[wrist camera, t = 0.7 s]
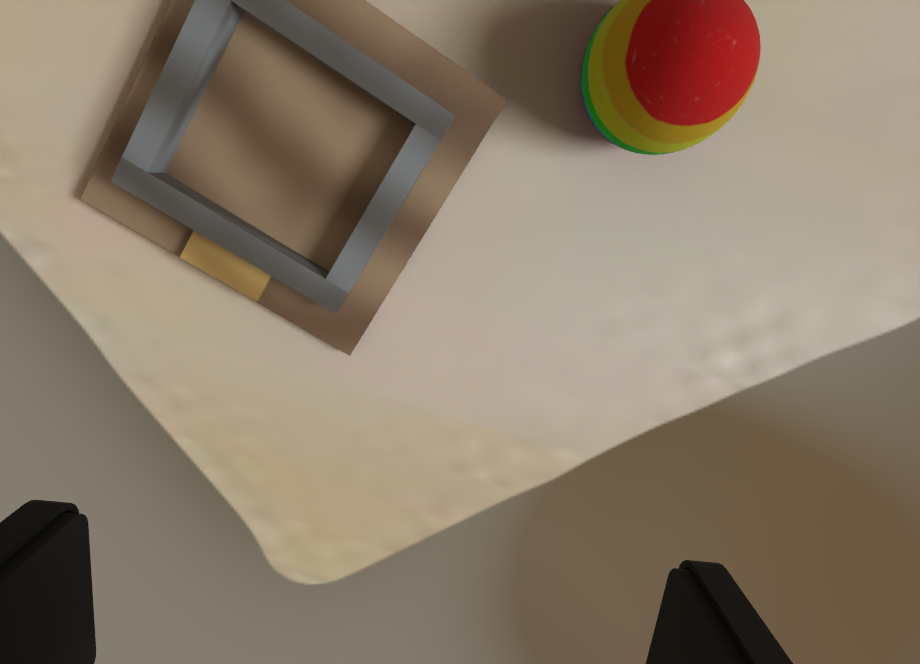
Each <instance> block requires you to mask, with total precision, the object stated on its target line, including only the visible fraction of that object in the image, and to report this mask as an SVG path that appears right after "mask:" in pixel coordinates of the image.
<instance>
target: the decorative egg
mask: <svg viewBox="0 0 920 664" xmlns="http://www.w3.org/2000/svg"><path fill="white" fill-rule="evenodd" d="M760 48H761V47H760V35H759V30H758V27H757V23H756V20H755V18H754V15H753V13H752V11H751V9H750V8H749V7H748V5H747V4H746V3H745V1H744V0H621V1H619V2H618V3H617V4H616V5H615V6H614V7H613V8H612V9H611V10H610V11H609V12H608V13H607V14H606V15H605V17H604V18H603V19H602V21H601V22H600V24H599V25H598V26H597V28H596V29H595V31H594V33H593V35H592V37H591V39H590V41H589V43H588V45H587V48H586V51H585V54H584V57H583V61H582V67H581V77H580V86H581V95H582V99H583V103H584V106H585V110H586V112H587V114H588V116H589V118H590V120H591V122H592V123H593V125H594V126H595V127H596V129H597V130H598V131H599V132H600V133H601V134H602V135H603V136H604V137H605V138H606V139H608V140H609V141H610V142H612V143H613V144H615V145H617V146H619V147H621V148H623V149H625V150H628V151H631V152H635V153H640V154H649V155H657V154H667V153H673V152H676V151H680V150H683V149H686V148H688V147H691V146H693V145H695V144H697V143H699V142H701V141H703V140H705V139H706V138H708V137H709V136H711V135H712V134H714V133H715V132H716V131H717V130H719V129H720V128H721V127H722V126H723V125H724V124H725V123H726V122H727V121H729V120H730V118H731V117H732V116H733V115H734V114H735V113H736V112H737V110H738V109H739V107H740V106H741V105H742V103H743V102H744V100H745V98H746V97H747V95H748V93H749V91H750V89H751V87H752V85H753V82H754V80H755V77H756V74H757V70H758V66H759V60H760Z"/></svg>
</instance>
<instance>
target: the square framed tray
mask: <svg viewBox="0 0 920 664" xmlns="http://www.w3.org/2000/svg"><path fill="white" fill-rule="evenodd" d="M506 101H507V99H506V98H504V97H503V96H501V95H500V94H498V93H497V92H496V91H494V90H493V89H491V88H490V87H488V86H487V85H486V84H484V83H483V82H481V81H480V80H478V79H477V78H476V77H474V76H473V75H471V74H470V73H468V72H467V71H465V70H464V69H463V68H461V67H460V66H458V65H457V64H455V63H454V62H453V61H451V60H450V59H448V58H447V57H445V56H444V55H443V54H441V53H440V52H438V51H437V50H435V49H434V48H433V47H431V46H430V45H428V44H427V43H425V42H424V41H422V40H421V39H420V38H418V37H417V36H415V35H414V34H412V33H411V32H410V31H408V30H407V29H405V28H404V27H402V26H401V25H400V24H398V23H397V22H395V21H394V20H392V19H391V18H390V17H388V16H387V15H385V14H384V13H382V12H381V11H380V10H378V9H377V8H375V7H374V6H372V5H371V4H369V3H368V2H367V1H365V0H172V1H171V3H170V5H169V7H168V9H167V12H166V14H165V16H164V18H163V20H162V23H161V25H160V27H159V29H158V31H157V33H156V36H155V38H154V40H153V42H152V44H151V47H150V49H149V51H148V53H147V55H146V57H145V60H144V62H143V64H142V66H141V68H140V71H139V73H138V75H137V77H136V79H135V81H134V84H133V86H132V88H131V90H130V92H129V94H128V97H127V99H126V101H125V103H124V105H123V108H122V110H121V112H120V114H119V116H118V118H117V121H116V123H115V125H114V127H113V129H112V132H111V134H110V136H109V138H108V140H107V142H106V145H105V147H104V149H103V151H102V153H101V156H100V158H99V160H98V162H97V164H96V166H95V169H94V171H93V173H92V175H91V177H90V179H89V182H88V184H87V186H86V188H85V190H84V193H83V195H82V197H81V200H82V201H84V202H86V203H87V204H89V205H91V206H93V207H94V208H96V209H98V210H100V211H101V212H103V213H105V214H106V215H108V216H110V217H112V218H113V219H115V220H117V221H119V222H120V223H122V224H124V225H125V226H127V227H129V228H131V229H132V230H134V231H136V232H137V233H139V234H141V235H143V236H144V237H146V238H148V239H150V240H151V241H153V242H155V243H156V244H158V245H160V246H162V247H163V248H165V249H167V250H169V251H170V252H172V253H174V254H175V255H177V256H179V257H180V258H182V259H184V260H185V261H187V262H189V263H190V264H192V265H194V266H196V267H197V268H199V269H201V270H202V271H204V272H206V273H208V274H209V275H211V276H213V277H215V278H216V279H218V280H220V281H221V282H223V283H225V284H227V285H228V286H230V287H232V288H234V289H235V290H237V291H239V292H240V293H242V294H244V295H246V296H247V297H249V298H251V299H253V300H254V301H256V302H258V303H260V304H262V305H263V306H265V307H267V308H269V309H270V310H272V311H274V312H275V313H277V314H279V315H281V316H282V317H284V318H286V319H288V320H289V321H291V322H293V323H294V324H296V325H298V326H300V327H301V328H303V329H305V330H306V331H308V332H310V333H312V334H313V335H315V336H317V337H319V338H320V339H322V340H324V341H325V342H327V343H329V344H331V345H332V346H334V347H336V348H338V349H339V350H341V351H343V352H344V353H346V354H348V355H351V353H352V351H353V350H354V348H355V346H356V345H357V343H358V342H359V340H360V338H361V337H362V335H363V333H364V332H365V330H366V329H367V327H368V325H369V324H370V322H371V320H372V319H373V317H374V315H375V314H376V312H377V311H378V309H379V307H380V306H381V304H382V302H383V301H384V299H385V298H386V296H387V294H388V293H389V291H390V289H391V288H392V286H393V285H394V283H395V281H396V280H397V278H398V276H399V275H400V273H401V272H402V270H403V268H404V267H405V265H406V263H407V262H408V260H409V258H410V257H411V255H412V254H413V252H414V250H415V249H416V247H417V245H418V244H419V242H420V241H421V239H422V237H423V236H424V234H425V232H426V231H427V229H428V228H429V226H430V224H431V223H432V221H433V219H434V218H435V216H436V215H437V213H438V211H439V210H440V208H441V206H442V205H443V203H444V201H445V200H446V198H447V197H448V195H449V193H450V192H451V190H452V188H453V187H454V185H455V184H456V182H457V180H458V179H459V177H460V175H461V174H462V172H463V171H464V169H465V167H466V166H467V164H468V162H469V161H470V159H471V158H472V156H473V154H474V153H475V151H476V149H477V148H478V146H479V145H480V143H481V141H482V140H483V138H484V136H485V135H486V133H487V131H488V130H489V128H490V127H491V125H492V123H493V122H494V120H495V118H496V117H497V115H498V114H499V112H500V110H501V109H502V107H503V105H504V104H505V102H506Z"/></svg>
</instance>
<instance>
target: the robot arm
mask: <svg viewBox="0 0 920 664" xmlns="http://www.w3.org/2000/svg"><path fill="white" fill-rule="evenodd" d="M89 547H90V545H89V529H88V520H87V517H86V516H85V515H83V514H79V510H78V508H77V507H76V505H74V504H72V503H65V502H54V501H43V500H31V501H29V502H27V503H25V504H24V505H23V506H21V507H20V508H19V509H17V510H16V511H15V512H14V513H12V514H11V515H10V516H8V517H7V518H6V519H5V520H3V521H2V522H0V664H94V662H95V657H96V642H95V626H94V610H93V595H92V577H91V563H90V548H89ZM646 664H793V663H792V662H791V660H790V659H789V658H788V656H787V655H786V653H785V652H784V650H783V649H782V647H781V646H780V645H779V643H778V642H777V640H776V639H775V638H774V636H773V635H772V633H771V632H770V630H769V629H768V628H767V626H766V625H765V623H764V622H763V621H762V619H761V618H760V616H759V615H758V614H757V612H756V611H755V609H754V608H753V606H752V605H751V604H750V602H749V601H748V599H747V598H746V596H745V595H744V593H743V592H742V591H741V589H740V588H739V586H738V585H737V584H736V582H735V581H734V579H733V578H732V577H731V575H730V574H729V572H728V571H727V569H726V568H725V567H724V566H723V565H721V564H719V563H713V562H701V561H691V560H685V561H683V562H682V563H681V564H680V567H679V569H675V568H674V569H672V570H671V571H670V573H669V575H668V579H667V583H666V587H665V591H664V595H663V599H662V602H661V606H660V610H659V614H658V618H657V622H656V626H655V630H654V634H653V638H652V642H651V646H650V649H649V653H648V657H647V661H646Z"/></svg>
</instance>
